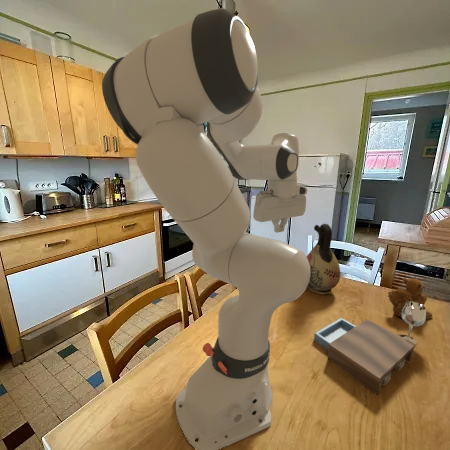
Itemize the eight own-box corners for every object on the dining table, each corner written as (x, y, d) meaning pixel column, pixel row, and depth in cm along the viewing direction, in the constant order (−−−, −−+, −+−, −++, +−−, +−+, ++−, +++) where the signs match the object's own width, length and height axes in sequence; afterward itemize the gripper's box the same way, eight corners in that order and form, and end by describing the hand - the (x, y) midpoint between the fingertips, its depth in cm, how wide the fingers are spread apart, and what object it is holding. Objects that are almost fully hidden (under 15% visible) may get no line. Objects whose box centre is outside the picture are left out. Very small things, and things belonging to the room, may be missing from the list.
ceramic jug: (296, 280, 112) (301, 217, 105) (329, 281, 112) (337, 218, 104) (306, 300, 96) (314, 227, 88) (346, 301, 95) (356, 228, 88)
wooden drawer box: (376, 395, 56) (379, 378, 55) (326, 359, 67) (328, 343, 66) (412, 359, 67) (415, 344, 66) (364, 332, 78) (367, 319, 76)
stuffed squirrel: (433, 317, 86) (442, 284, 82) (407, 326, 81) (415, 291, 78) (405, 302, 95) (411, 272, 91) (379, 310, 90) (385, 278, 87)
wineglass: (423, 348, 71) (432, 312, 68) (401, 345, 72) (409, 309, 69) (413, 334, 77) (421, 301, 74) (393, 332, 78) (400, 299, 75)
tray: (375, 383, 60) (377, 375, 59) (313, 340, 74) (314, 333, 74) (400, 359, 67) (402, 351, 67) (340, 324, 82) (341, 317, 81)
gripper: (263, 192, 67) (261, 239, 71) (310, 188, 78) (307, 229, 82) (249, 190, 73) (248, 234, 76) (295, 187, 83) (292, 225, 87)
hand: (279, 231), depth 79 cm, fingers closed
